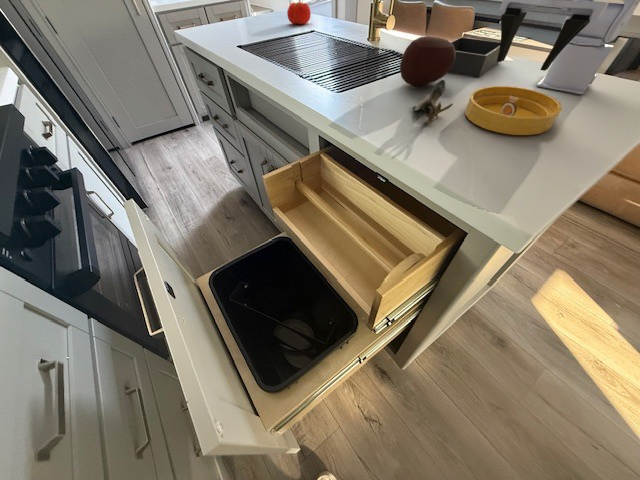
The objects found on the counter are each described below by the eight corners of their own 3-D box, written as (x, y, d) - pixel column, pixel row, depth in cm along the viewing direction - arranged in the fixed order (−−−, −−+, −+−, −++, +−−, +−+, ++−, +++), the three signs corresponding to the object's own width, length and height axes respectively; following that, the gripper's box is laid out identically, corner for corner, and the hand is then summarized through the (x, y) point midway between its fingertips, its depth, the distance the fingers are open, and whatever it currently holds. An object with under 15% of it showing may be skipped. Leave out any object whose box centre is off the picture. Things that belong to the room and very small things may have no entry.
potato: (455, 89, 67) (471, 39, 59) (406, 96, 65) (416, 44, 58) (434, 75, 74) (445, 28, 66) (389, 80, 73) (395, 33, 65)
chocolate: (516, 117, 55) (527, 97, 52) (509, 120, 54) (520, 99, 51) (503, 112, 57) (512, 92, 54) (496, 115, 56) (505, 94, 53)
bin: (498, 63, 79) (506, 42, 75) (478, 77, 72) (486, 56, 68) (454, 56, 85) (460, 36, 81) (432, 68, 78) (437, 48, 74)
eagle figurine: (458, 120, 53) (450, 94, 58) (448, 90, 49) (441, 65, 53) (419, 137, 57) (415, 112, 62) (407, 112, 53) (403, 86, 57)
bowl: (559, 115, 56) (570, 97, 53) (537, 146, 48) (549, 127, 46) (481, 97, 63) (487, 80, 61) (451, 121, 56) (457, 104, 53)
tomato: (286, 22, 130) (284, 2, 125) (308, 20, 132) (307, 0, 126) (290, 27, 123) (288, 5, 118) (313, 24, 125) (312, 3, 119)
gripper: (512, -43, 41) (474, 60, 51) (629, -42, 34) (559, 78, 44) (527, -41, 45) (488, 55, 55) (637, -40, 38) (570, 70, 48)
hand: (521, 65), depth 50 cm, fingers open, 7 cm apart
